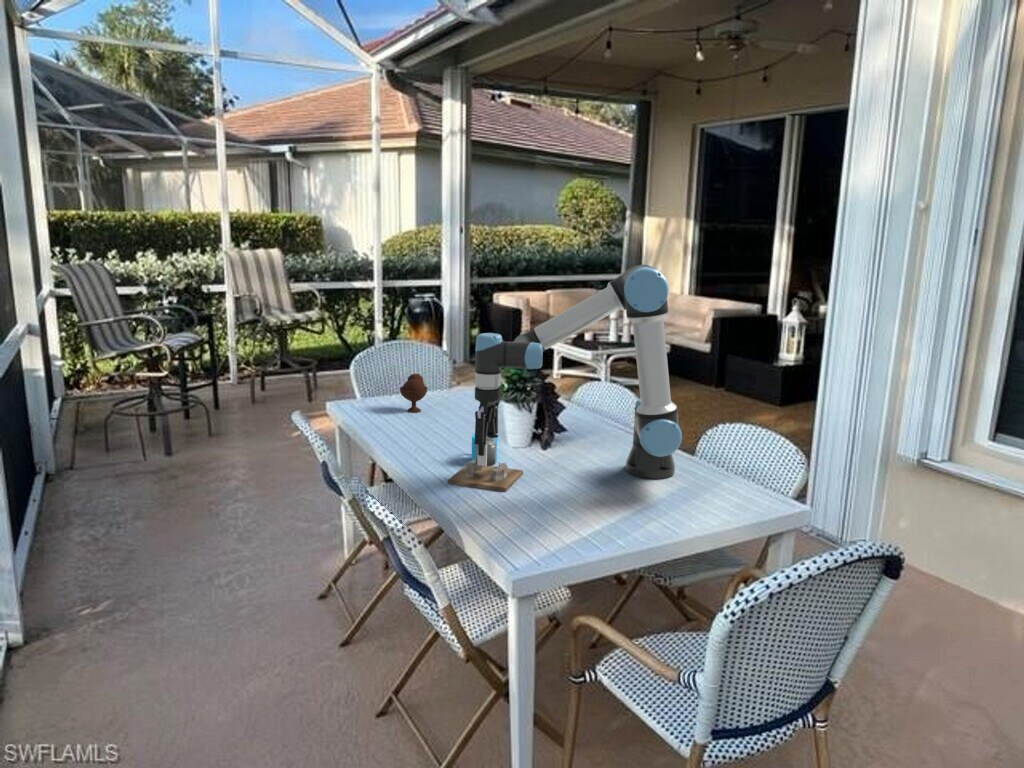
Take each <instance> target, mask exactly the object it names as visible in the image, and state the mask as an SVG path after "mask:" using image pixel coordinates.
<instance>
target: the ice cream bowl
mask: <svg viewBox="0 0 1024 768" xmlns="http://www.w3.org/2000/svg"><path fill="white" fill-rule="evenodd" d="M428 389H429V387H428V386H426V384H425V383H424V378H423V376H422V375H421V374H420V373H419V374H418V373H412V374H410V375H409V376H408V377H407V381H405V382H404V383H403V385H402V386H401V387H400V388H399V391H400V394H401V396H402V397H403V398H404V399H406V400H407V401H409V402H411V406H410V407H409V408H408V409H407V411H406V412H408V413H411V414H416V413H421V411H422V409H420V408H419V407H417V402H418V401H419V402H420V401H421V400H423V398H424V397H425V396H426V394H427V392H428Z"/></svg>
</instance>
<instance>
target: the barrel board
mask: <svg viewBox="0 0 1024 768" xmlns="http://www.w3.org/2000/svg"><path fill="white" fill-rule="evenodd" d="M523 475H524V470H523V469H516V468H509V467H508V465H507V463H505V462H503V463H502V462H499V463H498V466H495V465H492V466H480V465H477V464H476V463H475V460H473V461H472V460H470V461H468V462H467V463H466V464H465V465H464V466H463V467H462V468H460V469H459V470H457V472H456V473H454V474H453V475H452V476H451V477H449V478H448V479H447V484H450V485H457V486H463V487H470V488H477V489H485V490H490V491H498V492H503V493H504V492H505V493H507V491H509V490H510V488H511V487H513V485H514V484H515V483H516V482H517V481H518V480H519V479H520V478H521V477H522V476H523Z"/></svg>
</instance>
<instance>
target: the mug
mask: <svg viewBox="0 0 1024 768" xmlns="http://www.w3.org/2000/svg"><path fill="white" fill-rule="evenodd" d="M487 437H488V436H487ZM494 438H495V437H494ZM474 442H475V433H474V434H472V435H471V461H473V460H475V459H476V444H474ZM495 443H496V462H497V460H498V438H495ZM496 462H495V463H496Z"/></svg>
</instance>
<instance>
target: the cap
mask: <svg viewBox="0 0 1024 768" xmlns="http://www.w3.org/2000/svg"><path fill="white" fill-rule="evenodd" d="M486 444H487V466H495V465H496V443H495V442H493V441H490V440H486ZM477 454H478V444H476V459H475V463H476V464H477ZM480 466H481V465H480Z"/></svg>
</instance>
